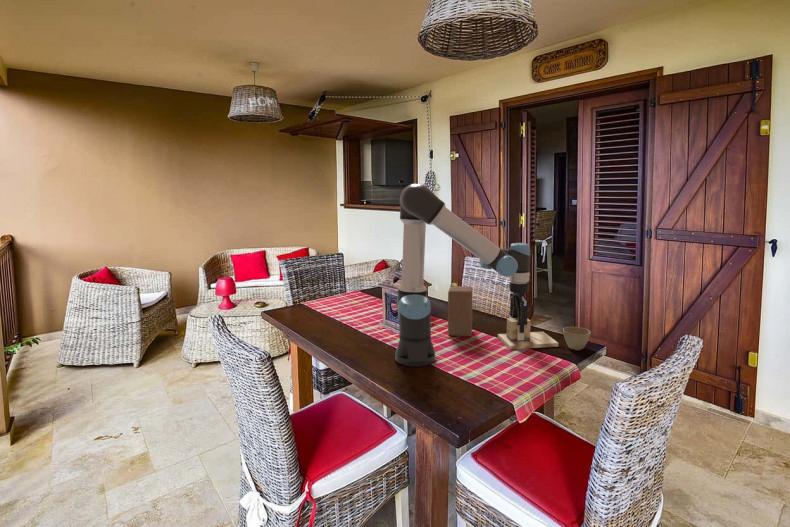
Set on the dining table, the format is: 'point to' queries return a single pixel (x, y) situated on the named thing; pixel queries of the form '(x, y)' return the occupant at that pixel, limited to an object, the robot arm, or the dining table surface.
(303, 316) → the dining table surface
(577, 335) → the flower pot
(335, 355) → the dining table surface
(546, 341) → the board
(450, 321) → the wooden block
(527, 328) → the sanding block
